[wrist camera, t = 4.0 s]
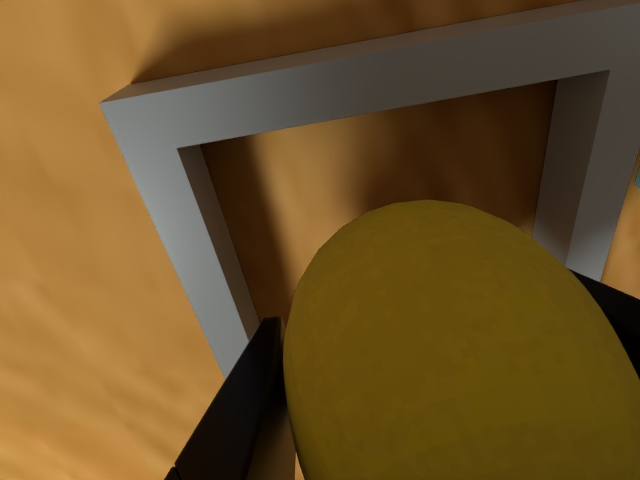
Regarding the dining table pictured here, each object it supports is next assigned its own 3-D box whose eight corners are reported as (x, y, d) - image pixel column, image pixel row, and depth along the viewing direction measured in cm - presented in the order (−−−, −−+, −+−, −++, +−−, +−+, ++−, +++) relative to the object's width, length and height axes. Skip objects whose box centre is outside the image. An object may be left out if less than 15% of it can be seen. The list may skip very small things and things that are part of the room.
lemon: (465, 104, 9) (1055, 491, 2) (503, 279, 12) (798, 678, 5) (245, 199, 10) (152, 690, 3) (331, 341, 13) (383, 750, 6)
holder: (621, -7, 8) (686, -6, 7) (543, 340, 13) (571, 377, 12) (128, 84, 8) (98, 103, 7) (251, 388, 13) (248, 430, 12)
